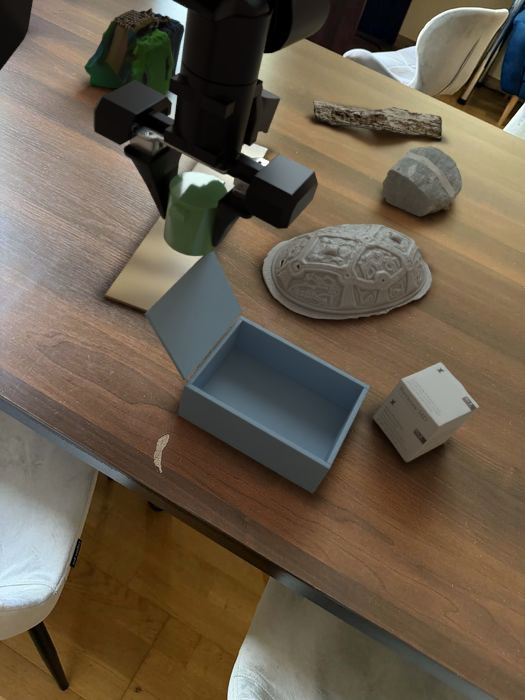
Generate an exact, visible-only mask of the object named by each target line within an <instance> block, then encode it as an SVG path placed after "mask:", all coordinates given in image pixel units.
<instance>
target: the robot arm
mask: <svg viewBox="0 0 525 700" xmlns="http://www.w3.org/2000/svg"><path fill="white" fill-rule="evenodd" d="M171 1H172V2H174V3H175V4H178V5H180V6H181V7H184V8H185V9H186V17H185V19H186V20H185V26H184V33H183V43H182V52H181V59H180V69H179V72H178V73H177V74H176V73H175V75H174V76H173V77H171V78H170V82H169V90H168V92H169V93H171V94H173V95H175V96H176V99H175V100H176V101H175V109H174V118H172V117H171V114H172V109H173V108H172V107H173V102H172V101H171V100H170V98H169V97H168V96H167V95H166V94H165V95H163V94H161V93H159V92H157V91H155V90H153V89H151V88H149V87H147V86H145V85H143V84H141V83H139V82H137V81H135V80H134V81H132V82H130V83H128V84H126V85H124V86H122V87H120V88H115V89H114V90H113V91H111V92H109V93H107V94H105V95H103V96H101V97H100V98H98V99H97V101H96V102H95V105H94V107H93V121H92V122H93V129H94V133H96V134H98V135H100V136H102V137H103V138H105V139H107V140H109V141H111V142H113V143H115V144H117V145H119V146H122V145H124V144H125V143H128V142H129V143H128V144H126V145H125V146H123V155H124V156H125V157H127V158H128V159H130V160H131V162H132V163H133V165H134V166H135V168H136V170H137V172H138V174H139V175H140V177H141V179H142V180H143V182H144V184H145V186H146V188H147V190H148V192H149V194H150V196H151V198H152V201H153V203H154V205H155V207H156V208H157V211H158V213H159V216H161V217H162V219H164V220H165V216H166V208H167V200H168V192H169V185H170V182H171V180H172V179H173V178H174V177H175V176H176V175H178V174H179V169H180V167H179V166H180V161H181V158H182V155H184V156H185V157H188V158H190V159H191V160H194V161H196V162H197V163H198V162H199V163H201V164H203V165H205V166H207V167H209V168H211V169H213V170H215V171H217V172H218V173H220V174H223V175H225V174H228V175H229V176H231V177H233V178H234V182H233V185H235V186H234V187H233V188H232V189H231V190H230V191H229V192H228V193H226V194H225V195H224V196H223V197H222V198H221V199H220V200H218V204H217V210H216V216H215V222H214V228H213V233H212V246H213V247H215V249H217V247H219V245H220V244H221V243H223V240H224V239H225V238H226V236H228V234H229V233H230V231H231V229H232V228H233V227H234V226H235V224H236V222H238V220H239V219H240V218H241V219H244V220H250V219H252V218H253V217H254V218H257V219H259V220H260V221H262V222H264V223H265V224H268V225H269V226H272V227H274V228H275V229H278V230H280V229H283V230H284V229H288V228H289V227H290V226H291V225H292V224H293V223H294V221H296V219H297V218H298V217H299V216H300V215H301V214H302V213H303V211H304V210H305V209H306V208H307V207H308V206H309V205H310V204H311V202H312V201H313V199H314V197H315V194H316V192H317V189H318V186H319V182H318V178H317V175H316V172H315V170H313V169H311V168H308V167H307V166H305V165H303V164H302V163H299V162H298V161H295V160H293V159H291V158H289V157H287V156H285V155H283V154H281V153H277V154H276V155H275V156H274V157H273V158H272V159H271V160H267V159H265V158H251V157H249V156H247V155H245V154H243V153H241V151H242V146H243V145H244V144H245V145H247V146H251V145H252V144H253V143H254V144H256V142H257V139H258V135H259V133H263V134H268V132H269V130H270V127H271V125H272V122H273V119H274V117H275V114H276V111H277V109H278V106H279V104H280V101H281V97H280V96H279V95H277V94H275V93H273V92H271V91H268V90H267V89H266V88H265V89H264V84H263V83H264V81H263V80H262V79H260V78H259V74H260V69H261V65H262V61H263V56H264V54H266V55H267V54H274V53H277V52H280V51H281V50H284V49H285V48H287V47H290V46H292V45H294V44H296V43H298V42H300V41H303V40H305V39H307V38H310V37H311V36H313V35H315V34H316V33H317V32H319V30H321V28H322V27H323V26H324V24H325V23H326V20H327V18H328V16H329V14H330V9H331V3H330V0H171ZM33 2H34V0H0V71H2V69H3V68H4V67H5V65H6V64H7V63H8V62H9V60H10V58H12V56H13V55H14V53H15V52H16V51H17V50H18V48H19V47H20V46H21V44H22V43H23V42H24V40H25V38H26V36H27V34H28V32H29V28H30V21H31V15H32V9H33Z"/></svg>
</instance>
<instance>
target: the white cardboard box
mask: <svg viewBox="0 0 525 700" xmlns="http://www.w3.org/2000/svg"><path fill="white" fill-rule="evenodd" d="M479 409H480V406H479V404H478V403H477V402H476V401H475V400H474V399H473V397H472V396H471V395H470V394H469V392H467V390H466V388H465V387H464V385H463V384H462V383H461V382H460V381H459V380H458V379H457V378H456V377H455V376H454V375H453V374H452V373H451V371H449V369H448V368H447V366H445V365H444V363H443V362H441V361H440V362H438V363H434V364H432V365H430V366H428V367H426V368H423V369H422V370H419V371H417V372H415V373H413V374H410V375H408V376H405V377H403V378H401V379H400V380H398V382H397V384H396V385H395V386H394V388H393V389H392V391H391V392H390V393H389V394H388V396H387V397H386V399H385V400H384V401H383V403H382V404H381V405H380V406H379V408H378V409H377V410H376V412H375V413H374V415H373V416H372V418H373V420H374V421H375V423H376V424H377V425H378V426H379V428H380V429H381V430H382V432H383V433H384V434H385V436H386V437H387V439H388V440H389V441H390V443H391V444H392V445H393V447H394V448H395V449H396V451H397V452H398V454H399V455H400V457H401V458H402V460H403V461H404V462H405V463H409V462H411V461H413V460H416V458H418V457H420V456H422V455H424V454H427V453H428V452H430V451H432V450H433V449H435V448H437V447H439V446H441V445H443V444H445V443H446V442H447V441H448V440H449V439H450V438H451V437H452V436H453V435H455V433H456V432H457V431H458V430H459V429H460V428H461V427H462V426H463V425H464V424H465V423H466V421H468V420H469V419H470V418H471V417H472V416H473V415H474V414H475V413H476V412H477V411H478V410H479Z"/></svg>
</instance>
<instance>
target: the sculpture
mask: <svg viewBox="0 0 525 700" xmlns="http://www.w3.org/2000/svg"><path fill="white" fill-rule="evenodd" d="M184 34H185V26H184V25H183V24H182V23H181V21H179V20H177V19H174V18H172V17H170V16H169V15H167V14H166V15H162V14H161V13H155V12H153V8H152V7H150V8H148V9H147V10H141V11H140V10H138V11H137V10H135V9H130V10H127V11H125V12H124V13H121V14H120V15H118V16H114V19H113V20H111V21H110V23H109V25H108V27H107V29H105V31H104V32H103V33H102V35H101V36H102V37H101V41H100V42H99V45H98V46H97V48H96V50H95V52H94V54H92V56H91V57H90V58H88V60H87V62H86V64H85V65H84V66H83V68H84V70H85V72H86V73H87V74H88V75H89V83H88V85H92V86H96V87H102V88H109V89H118V88H120V87H122V86H124V85H126V84H128V83H130V82H132V81H134V80H135V81H137V82H139V83H141V84H143V85H145V86H147V87H149V88H151V89H153V90H155V91H157V92H159V93H161V94H163V95H165V96H166V93H167V92H169V82H170V78H171V77H173V76H174V75H176V71H177V66H178V60H179V56H180V50H181V46H182V41H183V38H184Z"/></svg>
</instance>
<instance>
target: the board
mask: <svg viewBox="0 0 525 700" xmlns="http://www.w3.org/2000/svg"><path fill="white" fill-rule="evenodd" d="M267 152H268V148H267V147H265V146H262V145H259V144H257V143H253V144H252V145H251V146H247V145H245V144H244V145H243V146H242V151H241V153H243V154H245V155H247V156H249V157H251V158H263V159H265V158H264V157H265V156H266V154H267ZM190 172H200V173H204V174H208V175H211V174H212V175H214V176H216V177H217V178H219V179H221V180H223V181H225V187H226V188H227V191H228V192H229V191H230V190H231V189H232V188H233V187H234V186H235V185H233V182H234V178H233V177H231V176H229V175H228V174H225V175H223V174H220V173H218V172H217V171H215V170H213V169H211V168H209V167H207V166H205V165H203V164H201V163H199V162H197V163H196V164H195V166H194V167H193V169H192V170H191V171H190ZM164 224H165V220H164V219H162V217H161V215H159V217H158V219H157V220H156V221H155V223H154V224H153V225H152V227H151V228H150V230H149V232H148V233H147V234H146V236H145V237H144V238H143V240H142V241H141V243H140V244H139V246H138V247H137V248H136V250H135V251H134V253H133V254H132V255H131V257H130V258H129V260H128V261H127V263H126V264H125V265H124V267H123V268H122V269H121V271H120V273H119V274H118V276H117V277H116V278H115V280H114V281H113V282H112V284H111V285H110V287H109V288H108V290H107V291H106V293H105V294H104V298H107V299H109V300H112V301H115V302H117V303H119V304H123V305H125V306H127V307H131V308H134V309H136V310H139V311H141V312H144V313H146V312H147V311H148V310H149V309H150V308H151V307H152V306H153V305H154V304H155V303H156V302H157V301H158V300H159V299H160V298H161V297H162V296H163V295H164V294H165V293H166V292H167V291H168V290H169V289H170V288H171V287H172V286H173V285H174V284H175V283H176V282H177V281H178V280H179V279H180V278H181V277H182V276H183V275H184V274H185V273H186V272H187V271H188V270H189V269H190V268H191V267H192V266H193V265H194V264H195V263H196V262H197V261H198V260H199V259H200V258H201V257H202V256H188V255H184V254H181V253H179V252H177V251H175V250H173V249H172V248H171V247H170V246H169V245H168V244H167V243H166V241H165V239H164V236H163V232H164Z"/></svg>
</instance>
